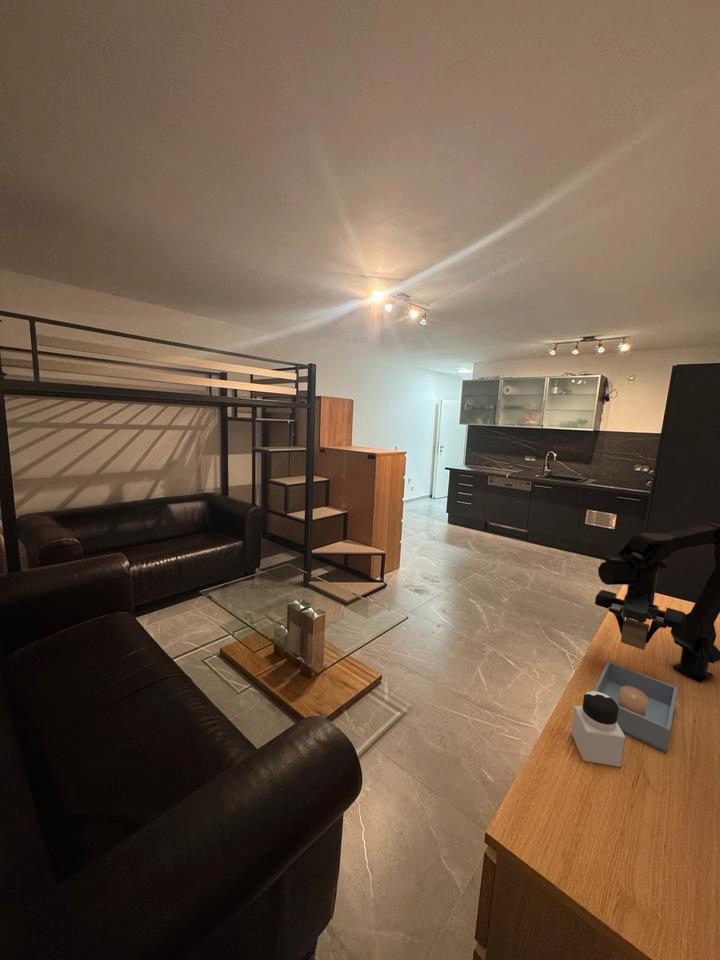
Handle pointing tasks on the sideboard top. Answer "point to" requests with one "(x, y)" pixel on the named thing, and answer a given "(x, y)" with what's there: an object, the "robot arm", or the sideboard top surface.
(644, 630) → the walnut cube
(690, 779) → the sideboard top surface
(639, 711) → the terracotta cylinder
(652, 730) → the tote
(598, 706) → the medicine bottle
